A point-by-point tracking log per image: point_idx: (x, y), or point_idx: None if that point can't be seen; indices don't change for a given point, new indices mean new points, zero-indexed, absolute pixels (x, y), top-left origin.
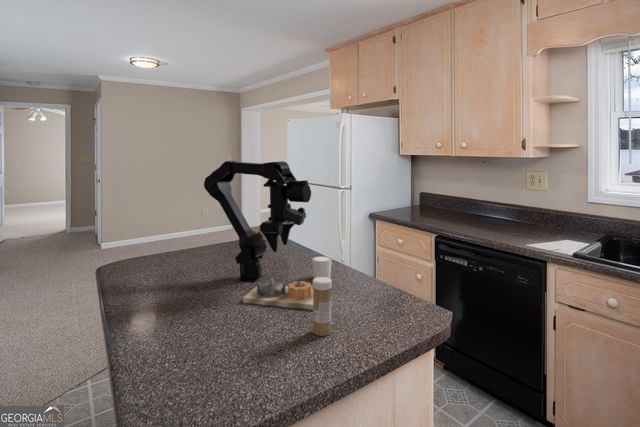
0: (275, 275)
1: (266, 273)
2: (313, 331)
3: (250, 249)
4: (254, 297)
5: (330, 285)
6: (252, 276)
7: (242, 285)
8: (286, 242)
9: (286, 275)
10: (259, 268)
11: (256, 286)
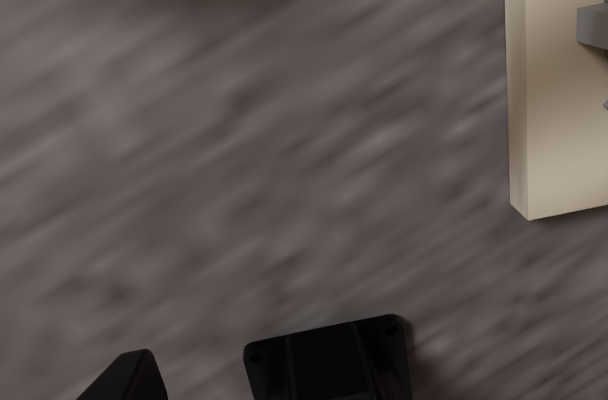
0: (171, 264)
1: (166, 354)
2: None
3: None
4: None
5: None
6: (385, 366)
7: (491, 344)
8: (140, 379)
9: (115, 177)
10: (344, 382)
11: (598, 204)
